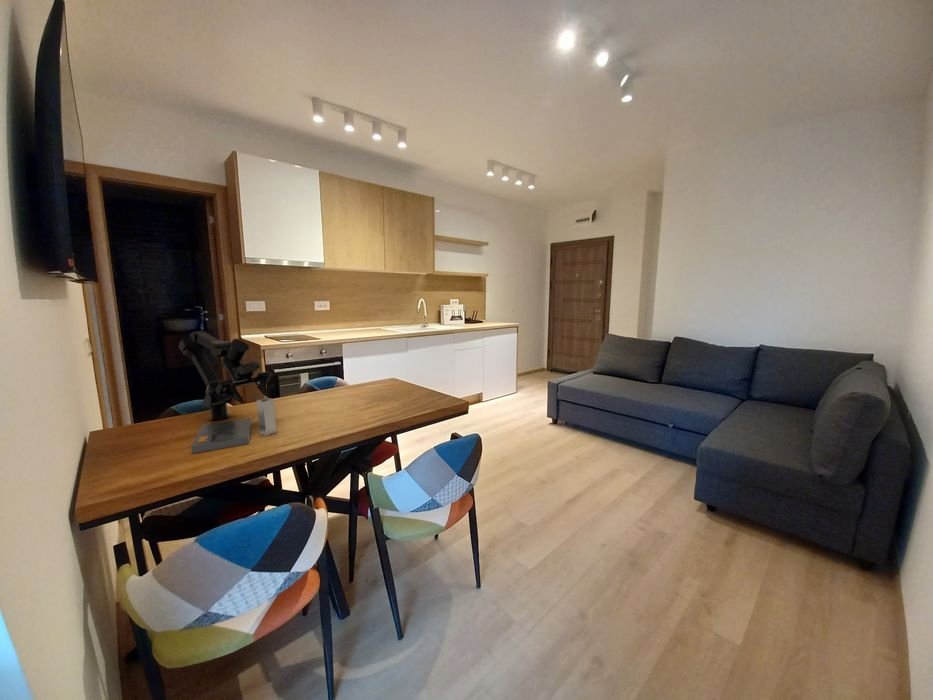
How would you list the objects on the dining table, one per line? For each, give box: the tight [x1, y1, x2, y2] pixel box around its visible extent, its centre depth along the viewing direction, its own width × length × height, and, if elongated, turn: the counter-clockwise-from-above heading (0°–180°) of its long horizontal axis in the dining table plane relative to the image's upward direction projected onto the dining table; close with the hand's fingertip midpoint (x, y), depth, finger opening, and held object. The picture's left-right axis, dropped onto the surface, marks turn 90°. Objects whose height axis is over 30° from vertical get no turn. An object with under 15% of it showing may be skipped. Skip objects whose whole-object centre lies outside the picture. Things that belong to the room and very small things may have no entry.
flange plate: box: [190, 417, 252, 454], centre depth 131 cm, size 22×16×3 cm
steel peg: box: [256, 397, 277, 437], centre depth 134 cm, size 4×4×13 cm
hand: (255, 399), depth 136 cm, fingers open, 9 cm apart
